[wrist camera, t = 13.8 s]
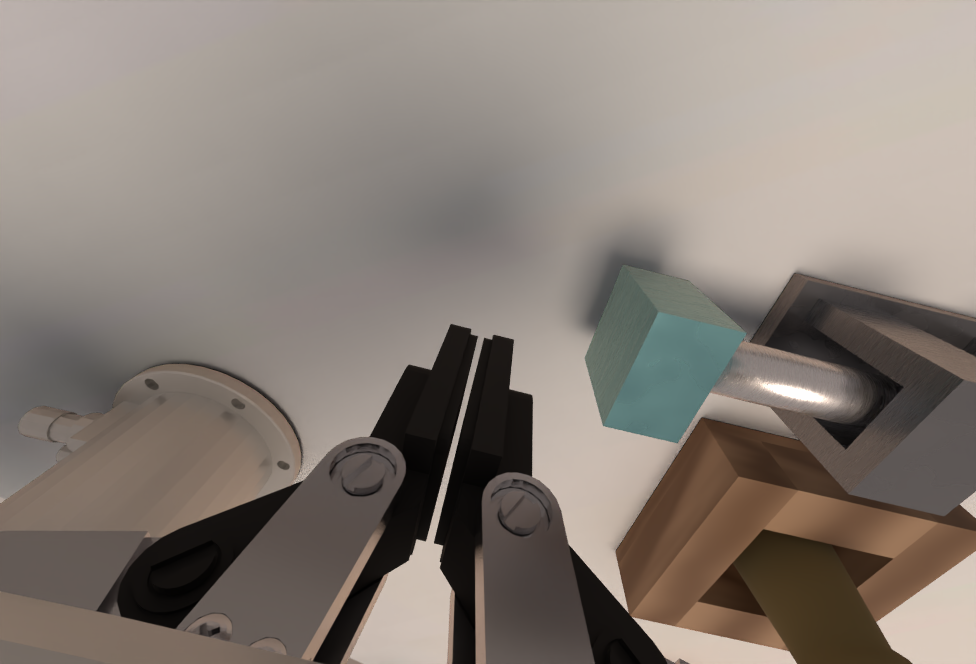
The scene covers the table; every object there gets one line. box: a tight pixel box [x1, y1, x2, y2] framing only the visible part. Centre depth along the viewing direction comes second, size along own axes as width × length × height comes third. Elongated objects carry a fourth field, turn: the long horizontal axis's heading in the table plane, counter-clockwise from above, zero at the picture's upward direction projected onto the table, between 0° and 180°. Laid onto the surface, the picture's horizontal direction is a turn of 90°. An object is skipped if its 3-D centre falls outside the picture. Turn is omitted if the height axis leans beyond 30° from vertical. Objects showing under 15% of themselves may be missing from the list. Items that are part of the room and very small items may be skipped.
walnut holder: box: [616, 418, 976, 651], centre depth 25 cm, size 14×14×4 cm
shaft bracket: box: [750, 273, 976, 516], centre depth 17 cm, size 16×7×8 cm, turn 78°
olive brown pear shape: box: [733, 529, 912, 664], centre depth 21 cm, size 6×6×11 cm
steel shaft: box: [585, 265, 904, 443], centre depth 16 cm, size 17×5×5 cm, turn 78°
